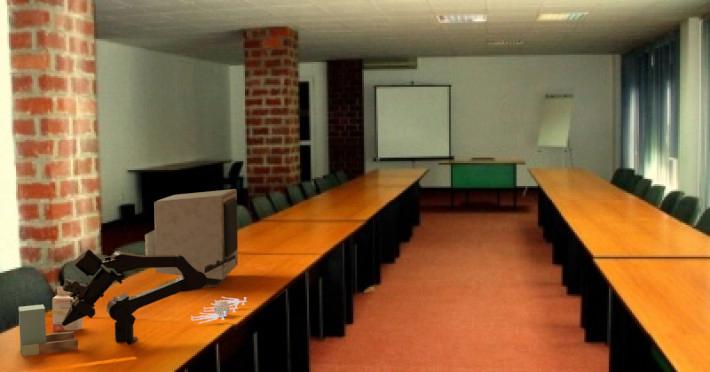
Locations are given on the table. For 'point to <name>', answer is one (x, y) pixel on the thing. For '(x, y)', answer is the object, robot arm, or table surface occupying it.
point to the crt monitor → (197, 232)
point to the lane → (59, 343)
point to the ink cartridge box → (63, 311)
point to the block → (32, 325)
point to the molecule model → (222, 306)
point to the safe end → (30, 349)
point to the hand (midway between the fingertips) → (62, 325)
